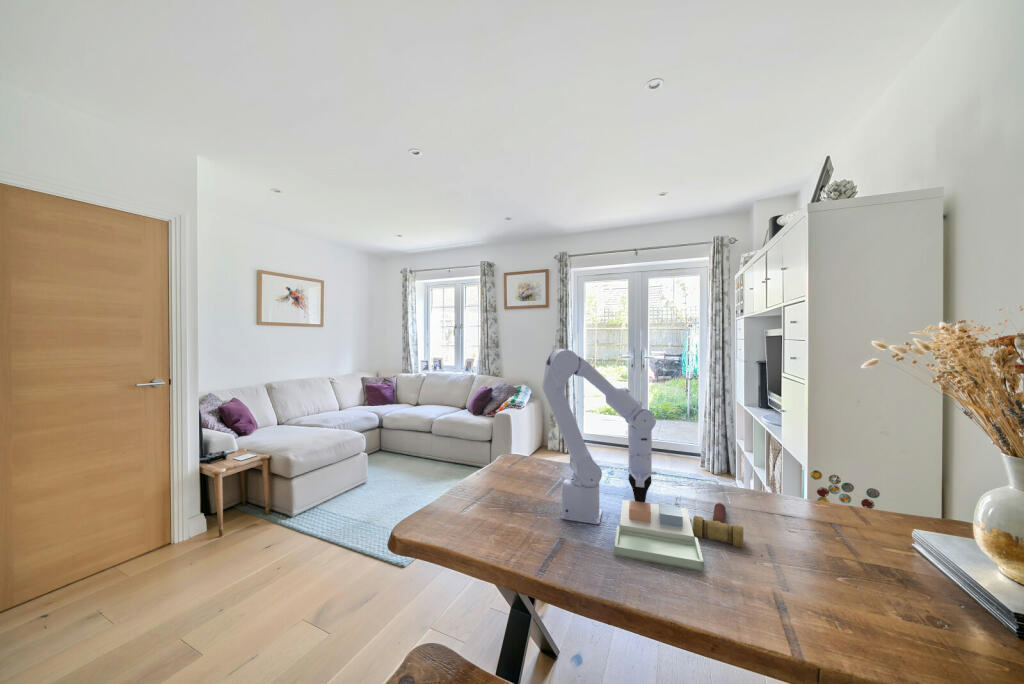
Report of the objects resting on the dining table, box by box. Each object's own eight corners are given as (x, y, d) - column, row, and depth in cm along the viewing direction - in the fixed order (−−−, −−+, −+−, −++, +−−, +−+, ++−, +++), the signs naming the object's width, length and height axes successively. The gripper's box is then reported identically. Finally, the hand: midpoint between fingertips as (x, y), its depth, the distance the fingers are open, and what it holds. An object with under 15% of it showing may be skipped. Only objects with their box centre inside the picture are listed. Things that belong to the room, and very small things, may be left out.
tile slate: (659, 523, 89) (659, 513, 89) (658, 514, 93) (658, 504, 93) (682, 527, 87) (682, 516, 87) (680, 517, 92) (680, 507, 92)
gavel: (700, 491, 104) (741, 499, 99) (699, 508, 104) (741, 517, 99) (692, 519, 86) (743, 530, 81) (692, 539, 86) (743, 552, 81)
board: (619, 533, 88) (619, 524, 88) (622, 507, 102) (622, 499, 102) (694, 545, 83) (694, 536, 83) (686, 516, 96) (686, 508, 96)
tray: (614, 555, 80) (614, 546, 80) (617, 533, 88) (617, 525, 88) (703, 571, 74) (703, 561, 74) (697, 546, 83) (697, 537, 83)
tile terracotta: (629, 519, 91) (629, 509, 91) (629, 510, 96) (629, 500, 96) (650, 522, 89) (650, 512, 89) (650, 512, 94) (650, 503, 94)
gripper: (657, 463, 89) (657, 519, 90) (655, 445, 103) (655, 494, 103) (626, 460, 91) (626, 514, 92) (628, 443, 105) (628, 490, 106)
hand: (639, 503), depth 98 cm, fingers closed
